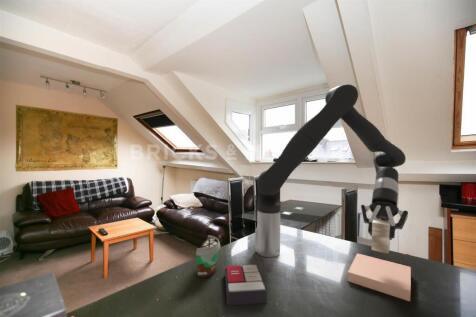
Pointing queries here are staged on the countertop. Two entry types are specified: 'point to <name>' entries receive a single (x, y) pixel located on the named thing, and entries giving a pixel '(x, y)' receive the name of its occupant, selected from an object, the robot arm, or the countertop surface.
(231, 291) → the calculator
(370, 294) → the countertop surface
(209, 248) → the food container
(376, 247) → the ash block
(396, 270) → the plinth
